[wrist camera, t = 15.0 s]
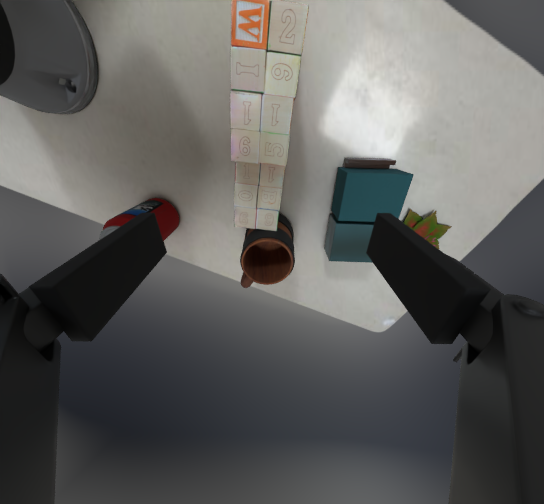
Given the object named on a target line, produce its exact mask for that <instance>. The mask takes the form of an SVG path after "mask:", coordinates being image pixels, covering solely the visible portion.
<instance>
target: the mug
mask: <svg viewBox="0 0 544 504" xmlns="http://www.w3.org/2000/svg"><path fill="white" fill-rule="evenodd" d="M240 262H241V267H242V270H243V271H244V272H243V275H242V279H241V285H242V286H243V287H244V288H247V287H249V286H250V285H251V284H252V283H253V281H254V282H256V283H259V284H265V285H269V284H275V283H278V282H280V281H282V280H283V279H285V278H286V277H287V276H288V275H289V274H290V273H291V271H292V270H293V267H294V263H295V258H294V245H293V229H292V226H291V224H290V222H289V220H288V219H287V218H286V217H285V216H283V215H282V214H280V213H279V216H278V224H277V231H271V230H262V229H250V228H247V230H246V234H245V241H244V244H243V250H242V254H241V259H240Z"/></svg>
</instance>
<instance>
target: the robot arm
mask: <svg viewBox="0 0 544 504" xmlns="http://www.w3.org/2000/svg"><path fill="white" fill-rule="evenodd" d="M97 79H98V67H97V59H96V54H95V50H94V46H93V43H92V40H91V37H90V34H89V32H88V29H87V27H86V25H85V23H84V21H83V19H82V17H81V15H80V14H79V12H78V10H77V9H76V7H75V5H74V4H73V2H72V1H71V0H0V95H1V96H3V97H6V98H8V99H11V100H13V101H15V102H18V103H20V104H23V105H25V106H27V107H30V108H33V109H35V110H38V111H42V112H47V113H58V114H70V113H74V112H77V111H79V110H81V109H83V108H84V107H85V106H86V105H88V103H89V102H90V101H91V99H92V97H93V95H94V93H95V90H96V86H97ZM166 253H167V251H166V248H165V245H164V241H163V238H162V235H161V232H160V228H159V225H158V222H157V219H156V216H155V213H140V214H139V215H137V216H136V217H134V218H133V219H131V220H130V221H128V222H127V223H125V224H124V225H122V226H120V227H119V228H117V229H116V230H114V231H113V232H111V233H110V234H108V235H107V236H105V237H104V238H102V239H101V240H99V241H98V242H96V243H95V244H93V245H92V246H90V247H89V248H87V249H85V250H84V251H82V252H81V253H79V254H78V255H76V256H75V257H73V258H72V259H70V260H69V261H67V262H66V263H64V264H63V265H61V266H60V267H58V268H56V269H55V270H53V271H52V272H50V273H49V274H47V275H46V276H44V277H43V278H41V279H40V280H38V281H37V282H35V283H34V284H32V285H31V286H29V288H27V289H26V290H24V291H23V292H21V293H19V294H18V293H17V292H16V290H15V289H14V288H13V287H12V286H11V284H10V283H9V282H8V281H7V280H6V279H5V277H4V276H3V275H2V274H0V504H54V497H55V473H56V449H57V425H58V399H59V375H60V350H61V345H60V343H59V341H58V340H57V339H56V338H57V337H58V336H59V335H60V334H61V333H62V332H63V331H64V332H65V333H66V334H67V335H68V337H69V338H70V339H71V341H92V340H93V339H94V338H95V337H96V335H97V334H98V333H99V332H100V331H101V330H102V328H103V327H104V326H105V325H106V324H107V322H108V321H109V320H110V319H111V318H112V316H113V315H114V314H115V313H116V312H117V311H118V309H119V308H120V307H121V306H122V304H124V302H125V301H126V300H127V299H128V298H129V296H130V295H131V294H132V293H133V292H134V290H135V289H136V288H137V287H138V286H139V284H140V283H141V282H142V281H143V280H144V279H145V277H146V276H147V275H148V274H149V273H150V272H151V270H152V269H153V268H154V267H155V266H156V265H157V263H158V262H159V261H160V260H161V259H162V257H163V256H164V255H165V254H166ZM366 253H367V255H368V256H369V258H370V259H371V260H372V262H373V263H374V265H375V266H376V267H377V269H378V270H379V271H380V273H381V274H382V276H383V277H384V278H385V280H386V281H387V283H388V284H389V285H390V287H391V288H392V290H393V291H394V292H395V294H396V295H397V296H398V298H399V299H400V301H401V302H402V303H403V305H404V306H405V308H406V309H407V310H408V312H409V313H410V314H411V316H412V317H413V319H414V320H415V321H416V323H417V324H418V326H419V327H420V328H421V330H422V331H423V332H424V334H425V335H426V336H427V338H428V339H429V341H430V342H431V343H432V344H452V343H453V341H454V340H455V339H456V337H457V336H458V334H459V333H460V334H461V335H462V336H463V337H464V338H465V339H466V341H467V342H466V343H465V345H464V346H463V347H462V348H461V350H460V351H459V352H458V354H457V355H456V356H455V358H454V359H453V361H455V362H457V361H458V360H459V359H461V369H460V381H459V392H458V404H457V415H456V426H455V438H454V449H453V461H452V472H451V484H450V495H449V504H544V305H543V304H540V303H538V302H537V301H534V300H531V299H529V298H526V297H522V296H518V295H509V294H507V295H504V294H502V293H501V292H499V291H498V290H497V289H495V288H494V287H493V286H491V285H490V284H488V283H487V282H486V281H484V280H483V279H482V278H480V277H479V276H478V275H476V274H474V272H472V271H471V270H470V269H468V268H466V267H465V266H464V265H463V264H462V263H460V262H459V261H457V260H456V259H454V258H452V257H450V256H448V255H446V254H444V253H443V252H441V251H440V250H439V249H437V248H436V247H435V246H433V245H432V244H431V243H429V242H428V241H427V240H425V239H424V238H423V237H421V236H420V235H419V234H417V233H416V232H415V231H413V230H412V229H411V228H409V227H408V226H407V225H406V224H404V223H403V222H402V221H400V220H399V219H398V218H396V217H395V216H394V215H392V214H391V213H377V215H376V219H375V223H374V226H373V230H372V234H371V237H370V241H369V244H368V248H367V252H366Z"/></svg>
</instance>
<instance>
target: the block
mask: <svg viewBox="0 0 544 504" xmlns="http://www.w3.org/2000/svg"><path fill="white" fill-rule="evenodd" d="M412 178H413V174H410V173H407V172H404V171H401V170H398V169H381V168H345V167H339V168H338V173H337V179H336V185H335V191H334V196H333V202H332V208H331V211H332V212H333V214H334V215H335V217H336V218H337V220H338V221H365V222H375V219H376V215H377V213H391V214H392V215H394V216H395V217H396V218H399V215H400V212H401V210H402V207H403V204H404V201H405V198H406V195H407V192H408V189H409V186H410V184H411V181H412Z"/></svg>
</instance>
